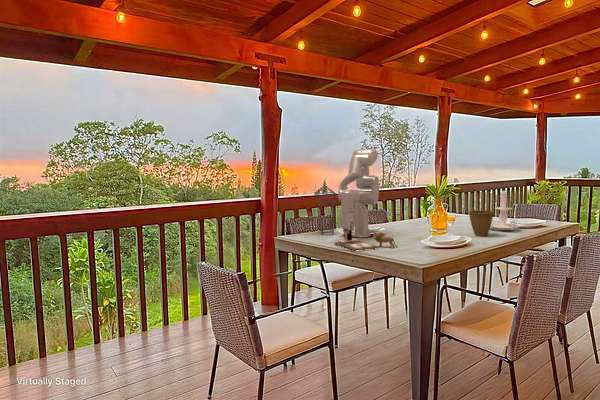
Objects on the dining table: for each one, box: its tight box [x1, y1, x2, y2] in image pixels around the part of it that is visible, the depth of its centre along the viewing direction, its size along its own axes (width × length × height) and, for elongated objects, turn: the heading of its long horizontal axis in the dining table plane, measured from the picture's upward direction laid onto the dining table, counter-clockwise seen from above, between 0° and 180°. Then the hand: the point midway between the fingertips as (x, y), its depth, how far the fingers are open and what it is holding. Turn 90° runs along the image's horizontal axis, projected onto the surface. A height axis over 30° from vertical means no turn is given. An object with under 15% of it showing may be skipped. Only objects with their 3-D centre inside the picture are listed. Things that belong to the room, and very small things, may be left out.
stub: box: [337, 230, 359, 243], centre depth 257 cm, size 12×5×7 cm, turn 113°
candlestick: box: [490, 190, 520, 232], centre depth 285 cm, size 21×25×28 cm
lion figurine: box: [372, 231, 398, 249], centre depth 244 cm, size 15×5×9 cm, turn 68°
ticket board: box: [334, 239, 379, 252], centre depth 249 cm, size 16×24×2 cm, turn 23°
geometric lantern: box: [314, 185, 337, 236], centre depth 293 cm, size 16×16×35 cm
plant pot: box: [468, 210, 494, 237], centre depth 271 cm, size 15×15×16 cm
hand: (347, 239), depth 257 cm, fingers closed on stub, 3 cm apart
